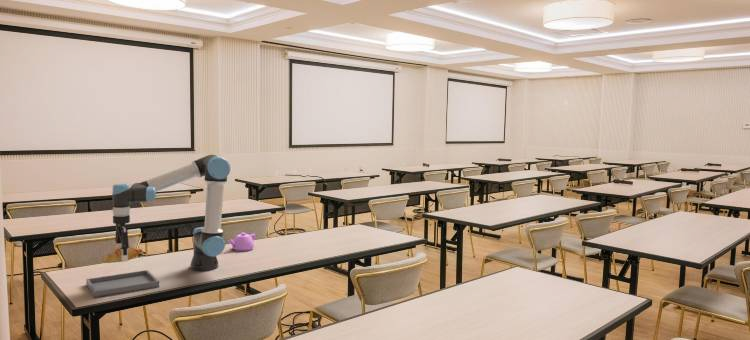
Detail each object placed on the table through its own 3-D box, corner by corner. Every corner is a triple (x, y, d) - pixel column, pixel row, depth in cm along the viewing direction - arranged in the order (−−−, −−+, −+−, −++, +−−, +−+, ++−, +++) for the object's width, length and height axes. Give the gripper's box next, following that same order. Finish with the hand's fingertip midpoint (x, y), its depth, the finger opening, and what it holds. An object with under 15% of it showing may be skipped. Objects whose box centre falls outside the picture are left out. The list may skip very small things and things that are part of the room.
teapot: (222, 249, 335) (222, 233, 334) (249, 244, 350) (249, 228, 349) (234, 254, 326) (234, 237, 325) (261, 248, 340) (261, 232, 339)
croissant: (106, 272, 250) (110, 259, 247) (94, 259, 253) (98, 246, 251) (144, 261, 268) (149, 249, 265) (133, 249, 272) (137, 237, 269)
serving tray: (147, 275, 279) (147, 269, 278) (159, 286, 261) (159, 281, 261) (86, 284, 261) (86, 279, 261) (94, 297, 244) (94, 291, 243)
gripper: (108, 211, 264) (109, 254, 266) (118, 219, 246) (119, 265, 248) (124, 210, 269) (124, 252, 271) (135, 218, 251) (135, 263, 253)
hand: (122, 258), depth 260 cm, fingers closed on croissant, 10 cm apart
